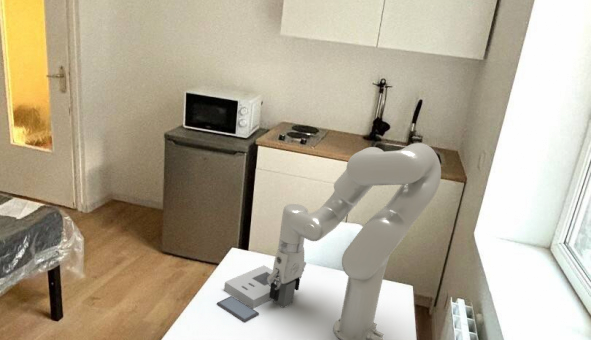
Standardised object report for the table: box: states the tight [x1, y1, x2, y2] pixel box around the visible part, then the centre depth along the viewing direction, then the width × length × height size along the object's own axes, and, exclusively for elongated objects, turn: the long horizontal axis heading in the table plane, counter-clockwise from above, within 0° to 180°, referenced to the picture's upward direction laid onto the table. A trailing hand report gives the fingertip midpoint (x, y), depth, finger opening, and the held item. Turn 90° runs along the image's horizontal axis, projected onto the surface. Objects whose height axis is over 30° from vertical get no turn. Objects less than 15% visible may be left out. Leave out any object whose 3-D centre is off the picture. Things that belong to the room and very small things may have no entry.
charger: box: [272, 278, 296, 309], centre depth 151 cm, size 4×4×8 cm
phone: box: [216, 295, 260, 324], centre depth 145 cm, size 12×6×1 cm, turn 51°
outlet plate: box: [223, 265, 279, 309], centre depth 157 cm, size 13×18×3 cm
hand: (284, 293), depth 151 cm, fingers open, 9 cm apart
